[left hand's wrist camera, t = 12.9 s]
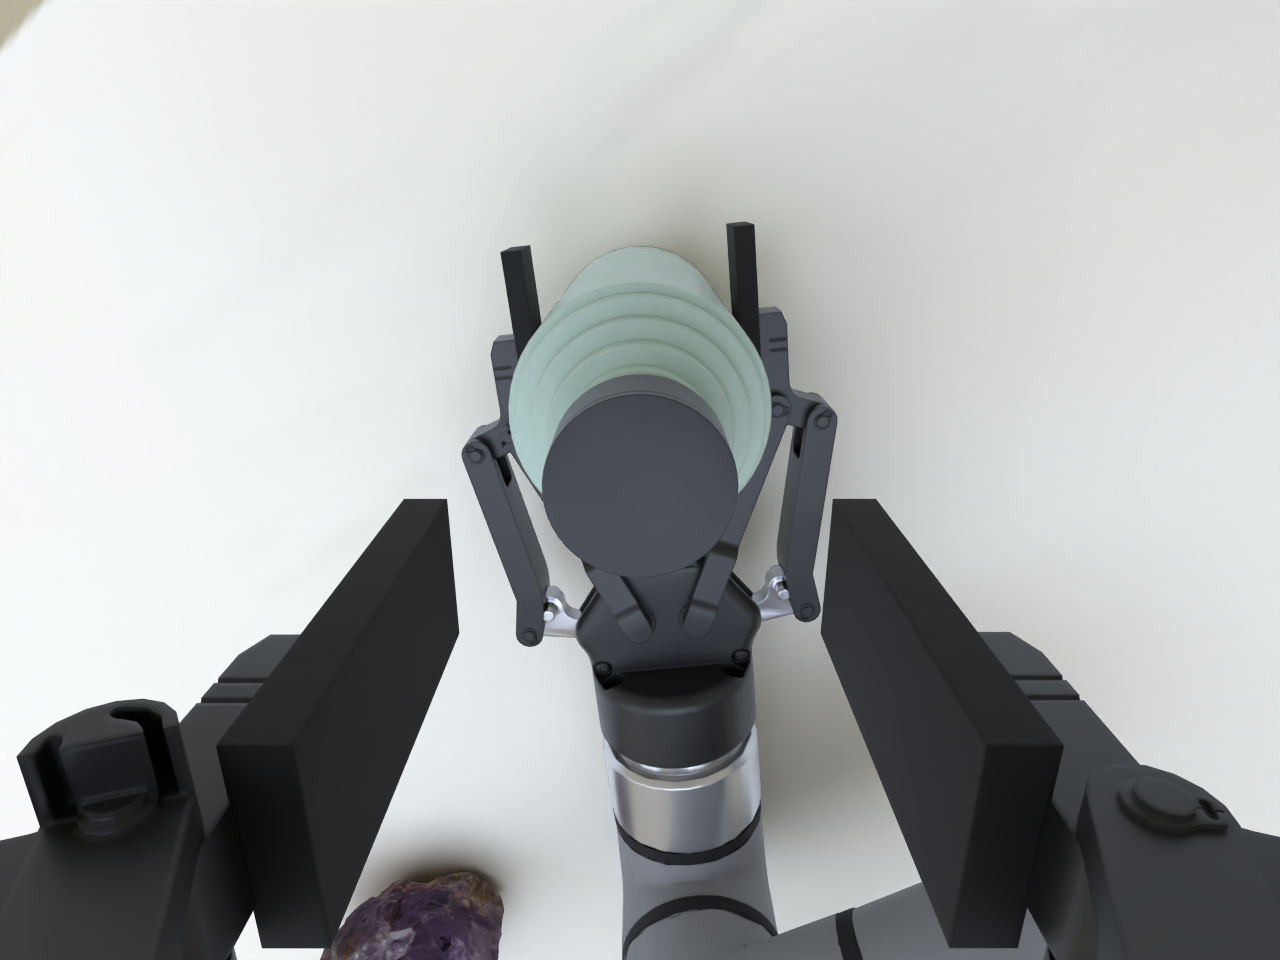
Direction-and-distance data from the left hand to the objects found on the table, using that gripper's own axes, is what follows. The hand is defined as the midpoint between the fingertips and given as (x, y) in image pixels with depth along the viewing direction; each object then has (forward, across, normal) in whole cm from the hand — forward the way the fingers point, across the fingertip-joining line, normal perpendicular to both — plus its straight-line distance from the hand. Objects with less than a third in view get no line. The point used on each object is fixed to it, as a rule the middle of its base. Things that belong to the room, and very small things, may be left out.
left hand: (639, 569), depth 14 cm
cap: (+4, 0, 0) cm, 4 cm away
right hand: (+19, 0, -5) cm, 20 cm away
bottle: (+26, 0, 0) cm, 26 cm away
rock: (+26, +14, +37) cm, 47 cm away
